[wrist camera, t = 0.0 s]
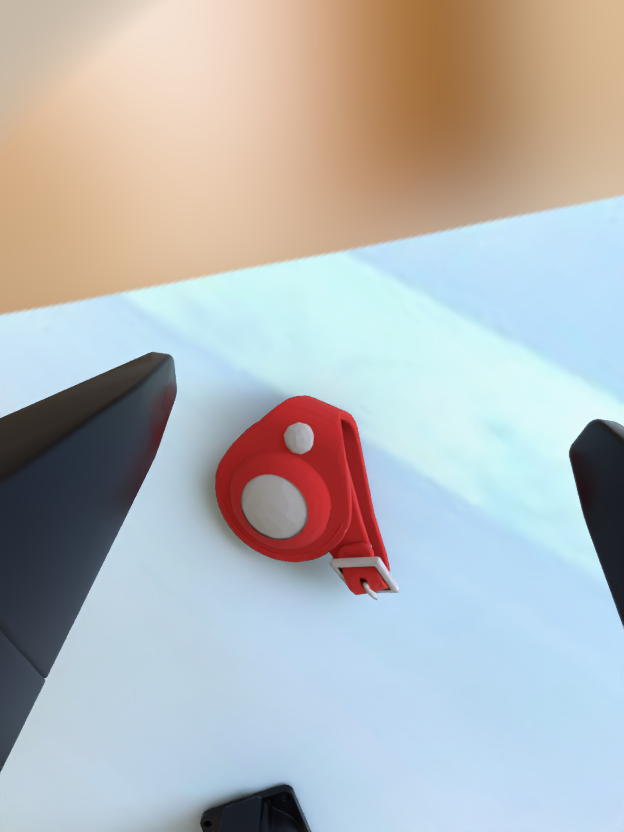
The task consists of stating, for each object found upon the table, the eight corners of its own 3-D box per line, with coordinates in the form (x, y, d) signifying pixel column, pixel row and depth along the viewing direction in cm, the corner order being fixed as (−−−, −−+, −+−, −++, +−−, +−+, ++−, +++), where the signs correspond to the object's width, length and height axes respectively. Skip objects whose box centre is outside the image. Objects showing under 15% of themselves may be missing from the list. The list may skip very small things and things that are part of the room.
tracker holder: (189, 539, 23) (228, 383, 20) (225, 503, 27) (263, 369, 24) (384, 638, 21) (467, 483, 18) (392, 583, 25) (461, 449, 22)
